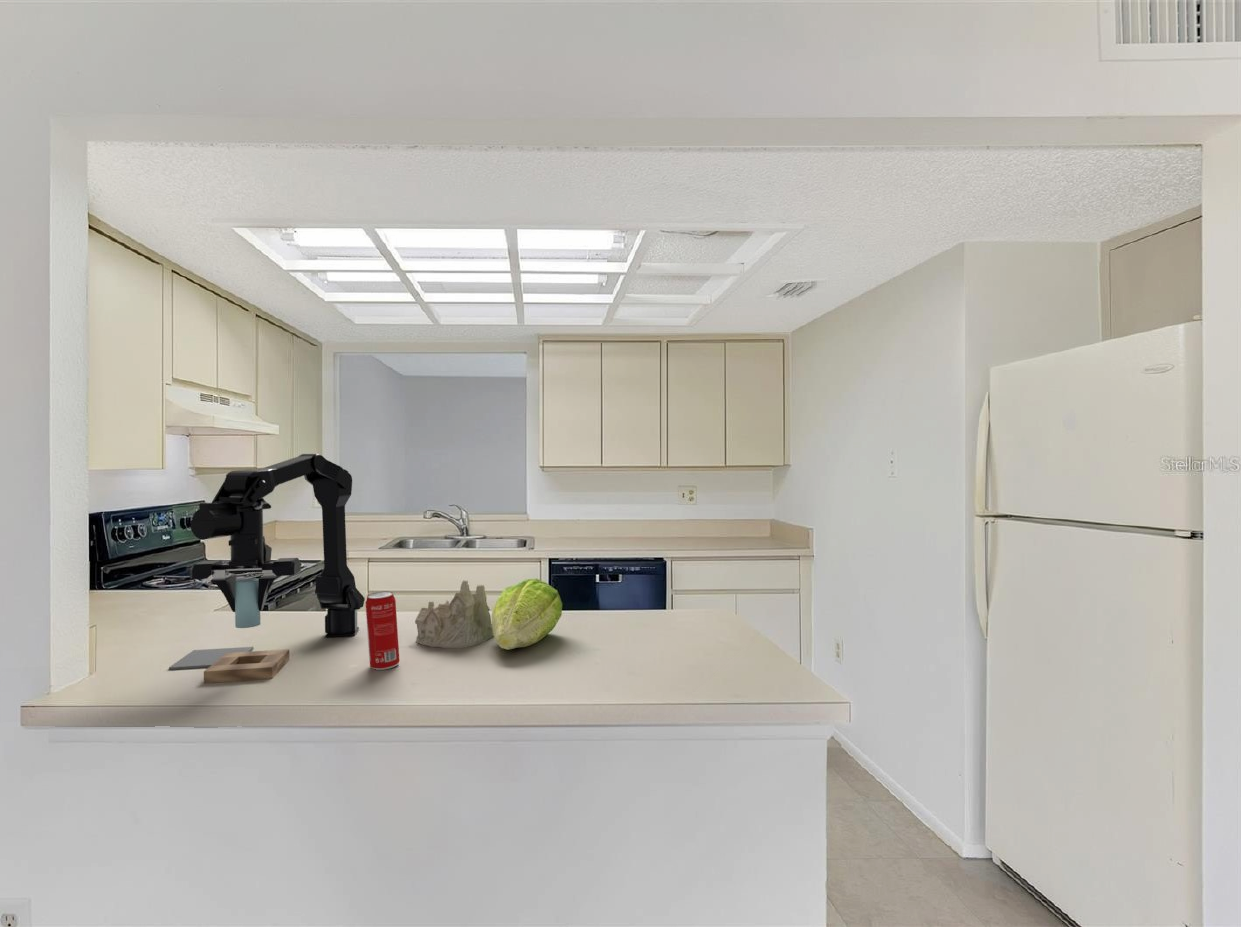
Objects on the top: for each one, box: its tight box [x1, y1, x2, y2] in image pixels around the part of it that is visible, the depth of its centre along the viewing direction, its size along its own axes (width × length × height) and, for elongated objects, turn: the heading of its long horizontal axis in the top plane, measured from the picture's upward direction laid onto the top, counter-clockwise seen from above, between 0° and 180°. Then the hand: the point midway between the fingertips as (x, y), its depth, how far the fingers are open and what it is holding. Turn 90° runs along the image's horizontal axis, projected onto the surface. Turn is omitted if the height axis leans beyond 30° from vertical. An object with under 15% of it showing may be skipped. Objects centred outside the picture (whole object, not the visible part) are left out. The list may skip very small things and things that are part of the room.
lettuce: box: [490, 578, 563, 651], centre depth 152 cm, size 14×24×15 cm
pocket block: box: [203, 648, 290, 684], centre depth 134 cm, size 12×12×2 cm
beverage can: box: [365, 590, 400, 671], centre depth 137 cm, size 6×6×15 cm
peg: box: [234, 577, 261, 629], centre depth 134 cm, size 4×4×9 cm
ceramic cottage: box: [414, 579, 495, 649], centre depth 157 cm, size 16×16×15 cm
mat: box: [168, 646, 254, 671], centre depth 142 cm, size 12×12×1 cm
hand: (247, 611), depth 134 cm, fingers closed on peg, 4 cm apart
